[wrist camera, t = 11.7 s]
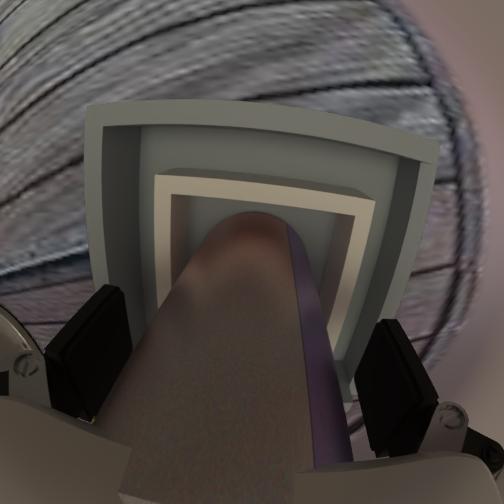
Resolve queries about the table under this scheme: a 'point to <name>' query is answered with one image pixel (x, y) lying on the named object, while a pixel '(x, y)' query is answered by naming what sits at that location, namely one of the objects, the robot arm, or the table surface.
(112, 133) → the box
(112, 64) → the table surface
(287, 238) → the beverage can
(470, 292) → the table surface
